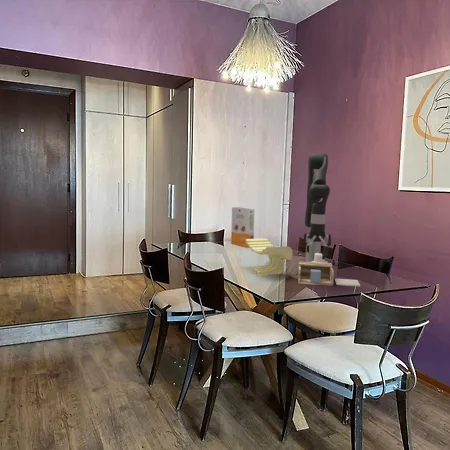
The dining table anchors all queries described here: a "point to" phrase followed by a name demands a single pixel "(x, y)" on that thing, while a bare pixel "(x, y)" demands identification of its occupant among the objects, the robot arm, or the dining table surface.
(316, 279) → the block
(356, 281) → the mat
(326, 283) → the cubby
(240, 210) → the cereal box
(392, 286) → the dining table surface
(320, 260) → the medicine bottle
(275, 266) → the slatted curved stool
